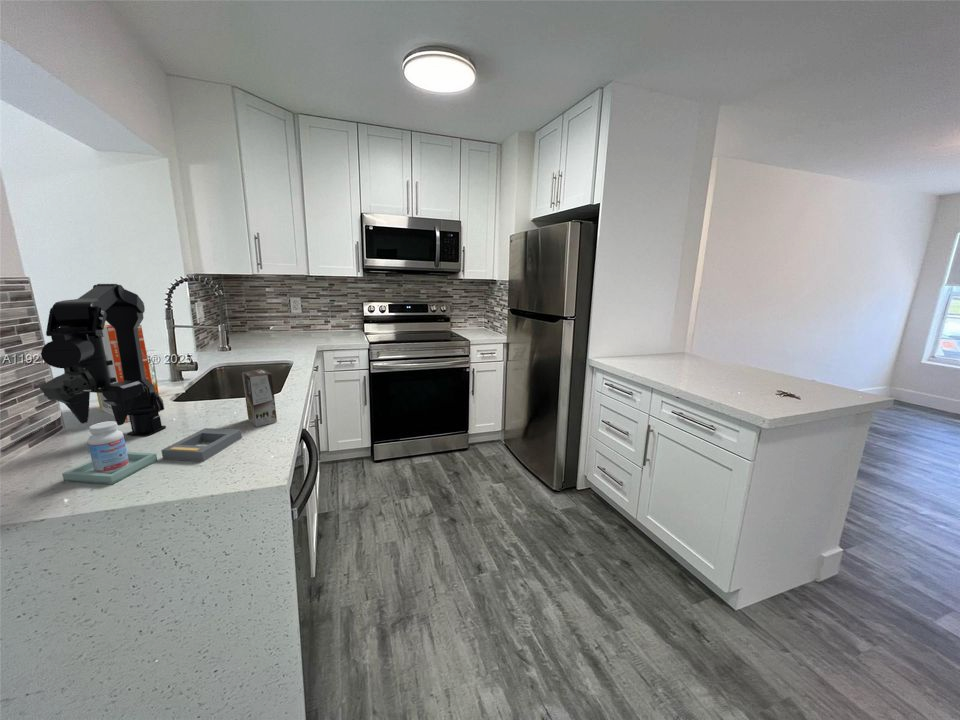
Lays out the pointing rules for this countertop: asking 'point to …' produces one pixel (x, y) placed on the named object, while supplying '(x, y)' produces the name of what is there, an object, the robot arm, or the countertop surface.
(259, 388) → the coffee box
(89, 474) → the tray
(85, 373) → the robot arm
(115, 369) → the orange cereal box
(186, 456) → the socket block
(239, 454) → the countertop surface
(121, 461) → the pill bottle
